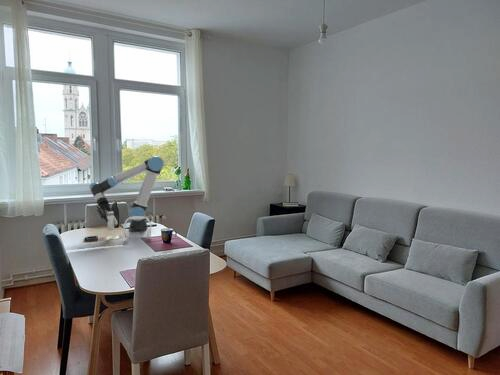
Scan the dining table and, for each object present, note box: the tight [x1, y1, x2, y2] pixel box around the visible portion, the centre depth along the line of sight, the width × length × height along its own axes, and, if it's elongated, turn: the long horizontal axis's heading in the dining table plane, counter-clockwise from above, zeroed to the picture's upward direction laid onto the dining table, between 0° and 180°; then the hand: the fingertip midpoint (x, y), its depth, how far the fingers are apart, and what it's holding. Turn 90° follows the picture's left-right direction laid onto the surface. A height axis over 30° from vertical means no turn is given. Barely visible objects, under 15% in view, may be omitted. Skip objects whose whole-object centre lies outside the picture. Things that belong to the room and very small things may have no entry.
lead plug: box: [106, 211, 115, 231], centre depth 261 cm, size 5×5×13 cm
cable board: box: [82, 235, 123, 243], centre depth 260 cm, size 26×10×4 cm, turn 115°
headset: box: [122, 216, 153, 240], centre depth 262 cm, size 20×7×18 cm, turn 105°
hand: (113, 224), depth 259 cm, fingers closed on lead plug, 4 cm apart
